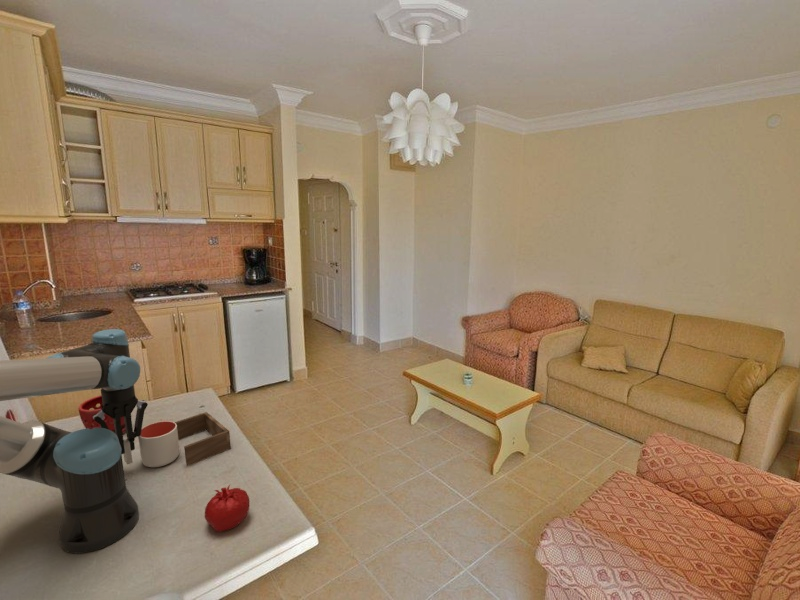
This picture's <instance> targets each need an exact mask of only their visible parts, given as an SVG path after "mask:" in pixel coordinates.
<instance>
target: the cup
mask: <svg viewBox="0 0 800 600" xmlns="http://www.w3.org/2000/svg"><path fill="white" fill-rule="evenodd" d="M174 422H175V421H170V420H164V421H163V420H162V421H158V422H157V421H156V422H153V423H150V424H148V425H145V426H144V427H142V430H141V435H140V436H138V445H139V451H140V460H141V463H142V464H143V466H145V467H148V468H159V467H163V466H167V465H169V464H171V463H172V462H174V461H175V460H176V459H177V458H178V456H179V455H180V451H181V450H180V449H181V448H180V442H179V441H180V439H179V440H178V432H177V425H176V423H174Z"/></svg>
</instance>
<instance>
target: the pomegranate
mask: <svg viewBox="0 0 800 600" xmlns="http://www.w3.org/2000/svg"><path fill="white" fill-rule="evenodd" d="M230 486H231V484H229V485H228V486H227V487H222V488H220V489H221V491H220V490H219V489H216V490H215V489H214V492H216V493H215V495H214V496H213V497H212V498H210V500H209V501H208V502H207V504H206V506H205V508H204V509H205V510H204V519H205V521H206V523H207V524H209V526H210V527H212V528H213V530H214V531H216V532H220V533H221V532H226V531H228V530H231V529H233V528H235V527H237V526H238V525H239V524H240V523H242V522H243V520H245V519H246V517H247V515H248V513H249V510H250V506H251V505H250V498H249V495H248V493H247V491H246V490H245V489H242V488H241V487H234V488H230Z"/></svg>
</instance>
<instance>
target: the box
mask: <svg viewBox="0 0 800 600" xmlns="http://www.w3.org/2000/svg"><path fill="white" fill-rule="evenodd" d="M173 422H174V423H176V425H177V432H178V440H179V441H180V440H182V439H184V438H189V436H190V437H191V436H193V435H195V434H199V433H201V432H204V431H206V432H208V433H209V434H210V435H211V436H208V437H205V438H203V439H200V440H198V441H195V442H192V443H189V444H186V445H183V448H184V455H185V456H184V457H185V464H186V466H187V467H189V466H191V465H193V464H196V463H198V462H200V461H203V460H205V459H208V458H210V457H213V456H215V455H217V454H221V453H222V452H225V451H227V450H230V449H231V448H232V447H231V446H232V445H231V436H230V435H231V434H230V430H229V429H227V427H225V426H224V425H223V424H222V423H220V422H219V421H218V420H217V419H216V418H214V417H213V416H212V415H211V414H210V413H208V412H207V411H205V412H202V413H199V414H196V415H193V416H190V417H186V418H184V419H181V420H177V421H173Z"/></svg>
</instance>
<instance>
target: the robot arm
mask: <svg viewBox="0 0 800 600" xmlns="http://www.w3.org/2000/svg"><path fill="white" fill-rule="evenodd" d="M91 337H92V339H91V343H88V344H86V345H81V346H78V347H76V348H72V349H69V350H64V351H62V352H58V353H56V354H52V355H49V356H48V357H45V358H29V359H28V358H27V359H9V360H8V359H7V360H0V402H3V401H4V402H5V401H12V400H13V401H14V400H19V399H27V398H35V397H43V396H49V395H51V396H52V395H57V394H58V395H59V394H65V393H73V392H81V391H88V390H99V389H100V393H101V394H100V395H101V396H102V402H103V405H102V407H101V411H100V412H99V413H97V414H94V415H93V416H92V417H93V419H94V420H95V421H96V422H97V423H99V424H100V426H101V428H93V429H89V428H83V429H78V430H75V431H72V432H71V431H68V430H63V429H61V428H58V427H55V426H52V425H50V424H48V423H45V422H41V421H39V420H28V421H24V422H23V423H21V422H19V421H15V420H13V419H10V418H7V417H5V416H4V417H3V416H2V415H0V474H2V475H6V476H7V475H8V476H12V477H15V478H18V479H22V480H26V481H27V480H28V481H32V482H36V483H38V484H42V485H46V486H49V487H52V488H56V489H59V490H60V492H61V498H62V503H63V507H64V508H63V509H64V512H63V516H62V520H61V524H60V528H59V534H58V537H59V538H58V539H59V542H60V546H61V549H63V550H64V551H65V552H67V551H68V552H67V553H70V552H71V553H72V554H83V553H84V554H85V553H90V552H94V551H98V550H100V549H103V548H105V547H107V546H110V545H112V544H113V543H116V542H117V541H119V540H120V539H122V538H124V537H125V536H126V535H127V534H128V533H130V531H132V530H133V529H134V527H136V525H137V523H138V522H139V519H140V511H139V505H138V503H137V502H136V500H135V499H134V497H133V495H132V494H131V493H130V492H129V490H128V489H127V484H126V476H125V470H124V463H123V459H124V462H125V464H126V465H131V464H133V463H134V461H133V457H132V456H133V455H132V451H134V450H135V448H136V446H135V445H136V444H135V438H137V437H138V436H140V435H141V430H142V428H143V423H144V416H145V415H144V414H145V410H146V409H147V407H148V405H149V404H148V403H147V402H146V400H144V399H143V400H139V399H138V398H137V396H136V391H135V386H134V385H135V384H136V383H137V382H138V380H139V378H140V376H141V366H140V364H139V362H138V361H137V359H134V358H132V357H131V356H130V343H129V340H128V336H127V333H126V331H125V330H124V329H120V328H119V329H118V328H109V329H104V330H100V331H97V332H94V333H93V334H92V336H91ZM135 408H136V413H135V414H136V415H135V420H134V427H133V423H132V412H133V411H134V409H135ZM104 414H106V415H108V416H110V417H111V418H113V421H114V428H115V433H114V432H113V431H111V430H109V428H108V426H107V425H106V423H105V421H104V419H105V416H104ZM121 417H124V422H125V429H126V431H125V435H126V438H125V439H124V435H123V434H124V433H122V427H121ZM71 553H70V554H71Z"/></svg>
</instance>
